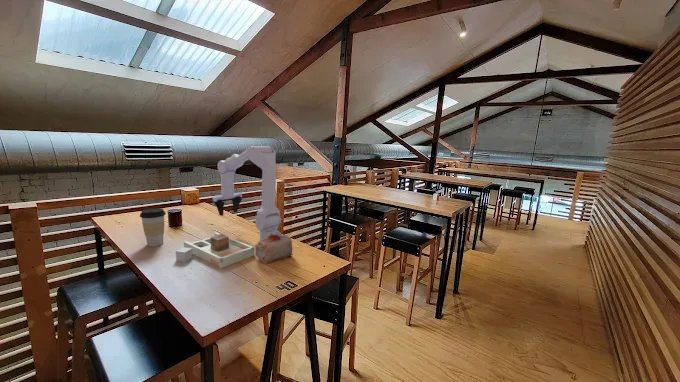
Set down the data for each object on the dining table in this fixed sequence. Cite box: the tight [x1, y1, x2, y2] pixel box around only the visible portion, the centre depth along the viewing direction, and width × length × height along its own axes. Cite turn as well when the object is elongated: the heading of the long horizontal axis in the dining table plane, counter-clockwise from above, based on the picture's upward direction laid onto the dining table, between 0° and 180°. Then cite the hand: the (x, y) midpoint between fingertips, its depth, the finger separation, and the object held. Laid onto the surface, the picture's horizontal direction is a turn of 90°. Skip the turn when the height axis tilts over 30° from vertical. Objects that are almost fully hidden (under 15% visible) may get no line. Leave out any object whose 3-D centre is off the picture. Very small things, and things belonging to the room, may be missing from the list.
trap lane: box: [183, 232, 255, 269], centre depth 122 cm, size 26×15×4 cm, turn 55°
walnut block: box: [209, 233, 230, 252], centre depth 120 cm, size 5×5×5 cm
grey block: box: [175, 246, 194, 263], centre depth 114 cm, size 4×4×4 cm
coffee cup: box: [139, 207, 167, 247], centre depth 126 cm, size 9×9×15 cm
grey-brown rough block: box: [254, 233, 293, 264], centre depth 118 cm, size 14×8×10 cm, turn 133°
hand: (228, 213), depth 142 cm, fingers open, 7 cm apart
